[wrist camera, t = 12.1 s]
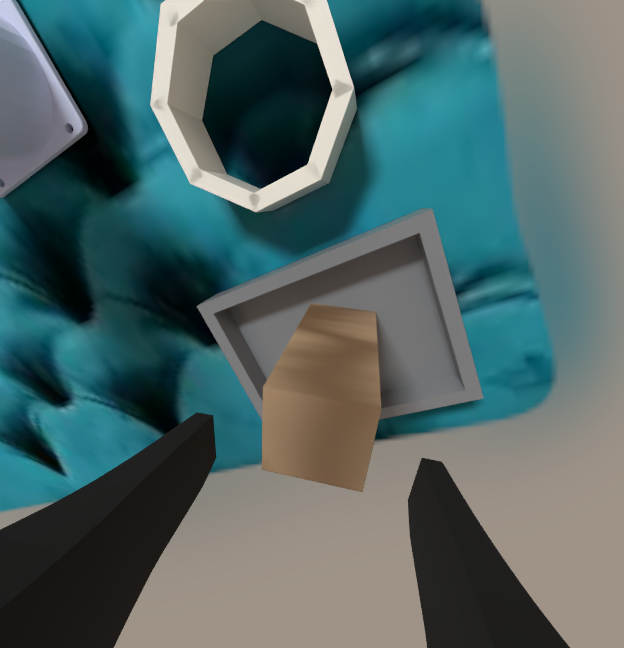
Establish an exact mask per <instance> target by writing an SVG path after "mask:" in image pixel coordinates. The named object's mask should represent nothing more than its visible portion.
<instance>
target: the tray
mask: <svg viewBox="0 0 624 648" xmlns="http://www.w3.org/2000/svg"><path fill="white" fill-rule="evenodd" d="M311 303H315V304H323V305H330V306H337V307H344V308H351V309H358V310H366V311H373V312H376V325H377V343H378V360H379V377H380V394H381V413H380V417H379V420H380V419H385V418H390V417H395V416H399V415H404V414H409V413H414V412H419V411H424V410H429V409H434V408H439V407H444V406H449V405H454V404H459V403H464V402H469V401H474V400H479V399H484V398H483V395H482V391H481V387H480V383H479V380H478V376H477V372H476V369H475V365H474V361H473V358H472V354H471V350H470V346H469V343H468V339H467V335H466V332H465V328H464V324H463V321H462V317H461V313H460V309H459V306H458V302H457V298H456V295H455V291H454V287H453V284H452V280H451V276H450V272H449V269H448V265H447V261H446V258H445V254H444V250H443V246H442V243H441V239H440V235H439V232H438V228H437V224H436V221H435V217H434V213H433V209H427V208H422V209H420V210H417V211H415V212H412V213H410V214H408V215H405V216H403V217H400V218H398V219H396V220H393V221H391V222H388V223H386V224H384V225H381V226H379V227H376V228H374V229H372V230H369V231H367V232H364V233H362V234H360V235H357V236H355V237H352V238H350V239H348V240H345V241H343V242H340V243H338V244H336V245H333V246H331V247H328V248H326V249H324V250H321V251H319V252H316V253H314V254H312V255H309V256H307V257H304V258H302V259H300V260H297V261H295V262H292V263H290V264H288V265H285V266H283V267H280V268H278V269H276V270H273V271H271V272H268V273H266V274H264V275H261V276H259V277H256V278H254V279H252V280H249V281H247V282H244V283H242V284H240V285H237V286H235V287H232V288H230V289H228V290H225V291H223V292H220V293H218V294H216V295H214V296H213V297H211V298H209V299H208V300H206V301H204V302H203V303H201V304H199V305H198V306H197V308H198V309H199V311H200V313H201V315H202V316H203V318H204V320H205V322H206V323H207V325H208V327H209V328H210V330H211V332H212V334H213V335H214V337H215V339H216V341H217V342H218V344H219V346H220V348H221V349H222V351H223V353H224V355H225V356H226V358H227V360H228V362H229V363H230V365H231V367H232V369H233V370H234V372H235V374H236V376H237V377H238V379H239V381H240V383H241V384H242V386H243V388H244V390H245V391H246V393H247V395H248V396H249V398H250V400H251V402H252V403H253V405H254V407H255V409H256V410H257V412H258V414H259V416H260V417H261V419H262V421H263V386H264V385H265V383H266V381H267V379H268V378H269V376H270V374H271V372H272V371H273V369H274V367H275V365H276V364H277V362H278V360H279V358H280V357H281V355H282V353H283V351H284V350H285V348H286V346H287V344H288V343H289V341H290V339H291V337H292V336H293V334H294V332H295V330H296V329H297V327H298V325H299V323H300V322H301V320H302V318H303V316H304V315H305V313H306V311H307V309H308V308H309V306H310V304H311Z"/></svg>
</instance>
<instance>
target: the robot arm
mask: <svg viewBox="0 0 624 648" xmlns="http://www.w3.org/2000/svg"><path fill="white" fill-rule="evenodd" d="M72 127H73V132H72ZM87 131H88V125H87V123H86V120H85V119H84V117H83V115H82V113H81V112H80V110H79V108H78V106H77V105H76V103H75V101H74V100H73V98H72V96H71V94H70V93H69V91H68V89H67V87H66V86H65V84H64V82H63V81H62V79H61V77H60V75H59V74H58V72H57V70H56V68H55V67H54V65H53V63H52V61H51V60H50V58H49V56H48V55H47V53H46V51H45V49H44V48H43V46H42V44H41V42H40V41H39V39H38V37H37V36H36V34H35V32H34V30H33V29H32V27H31V25H30V23H29V22H28V20H27V18H26V16H25V15H24V13H23V11H22V10H21V8H20V6H19V4H18V3H17V1H16V0H0V198H3V197H5V196H6V195H7V194H9V193H10V192H11V191H13V190H14V189H15V188H16V187H18V186H19V185H20V184H22V183H23V182H24V181H26V180H27V179H28V178H29V177H31V176H32V175H33V174H35V173H36V172H37V171H39V170H40V169H41V168H42V167H44V166H45V165H46V164H48V163H49V162H50V161H52V160H53V159H54V158H55V157H57V156H58V155H59V154H61V153H62V152H63V151H65V150H66V149H67V148H68V147H70V146H71V145H72V144H74V143H75V142H76V141H78V140H79V139H80V138H81V137H83V136H84V135H85V134H86V133H87ZM215 459H216V448H215V435H214V422H213V415H208V414H203V413H198V412H197V413H196V414H194V415H193V416H191V417H190V418H188V419H187V420H185V421H184V422H182V423H181V424H180V425H178V426H177V427H175V428H174V429H172V430H171V431H170V432H168V433H167V434H165V435H164V436H162V437H161V438H160V439H158V440H157V441H155V442H154V443H152V444H151V445H149V446H148V447H146V448H145V449H143V450H142V451H140V452H139V453H137V454H136V455H134V456H133V457H131V458H130V459H128V460H127V461H125V462H123V463H122V464H120V465H119V466H117V467H115V468H114V469H112V470H111V471H109V472H108V473H106V474H104V475H103V476H101V477H99V478H98V479H96V480H94V481H93V482H91V483H89V484H88V485H86V486H84V487H82V488H81V489H79V490H77V491H75V492H73V493H72V494H70V495H68V496H66V497H64V498H62V499H61V500H59V501H57V502H55V503H53V504H51V505H49V506H48V507H45V508H43V509H41V510H39V511H37V512H35V513H33V514H31V515H29V516H27V517H25V518H23V519H21V520H19V521H17V522H15V523H13V524H11V525H9V526H7V527H5V528H3V529H1V530H0V648H113V647H114V646H115V644H116V642H117V639H118V637H119V635H120V633H121V631H122V629H123V627H124V625H125V623H126V621H127V619H128V617H129V615H130V613H131V611H132V609H133V607H134V605H135V603H136V601H137V599H138V597H139V595H140V593H141V591H142V589H143V587H144V585H145V583H146V581H147V580H148V577H149V575H150V573H151V572H152V570H153V568H154V567H155V565H156V563H157V561H158V559H159V558H160V556H161V554H162V553H163V551H164V549H165V548H166V546H167V544H168V543H169V541H170V539H171V538H172V536H173V535H174V533H175V531H176V530H177V528H178V526H179V525H180V523H181V521H182V520H183V518H184V517H185V515H186V513H187V512H188V510H189V508H190V507H191V505H192V503H193V502H194V500H195V498H196V497H197V495H198V493H199V492H200V490H201V488H202V487H203V485H204V482H205V481H206V478H207V476H208V474H209V472H210V470H211V468H212V466H213V463H214V461H215ZM408 509H409V527H410V539H411V546H412V552H413V558H414V565H415V571H416V577H417V583H418V589H419V595H420V602H421V608H422V614H423V620H424V627H425V634H426V641H427V648H570V647H569V646H568V645H567V643H566V642H565V641H564V640H563V639H562V637H561V636H560V635H559V633H558V632H557V631H556V630H555V628H554V627H553V626H552V624H551V623H550V622H549V621H548V619H547V618H546V617H545V616H544V614H543V613H542V611H541V610H540V609H539V608H538V606H537V605H536V604H535V602H534V601H533V599H532V598H531V597H530V595H529V594H528V593H527V591H526V590H525V589H524V587H523V586H522V585H521V583H520V582H519V580H518V579H517V577H516V576H515V575H514V573H513V572H512V570H511V569H510V568H509V566H508V565H507V563H506V562H505V561H504V559H503V558H502V556H501V555H500V553H499V552H498V550H497V549H496V547H495V546H494V544H493V543H492V541H491V540H490V538H489V537H488V535H487V534H486V532H485V531H484V530H483V528H482V526H481V525H480V523H479V522H478V520H477V518H476V517H475V515H474V514H473V512H472V511H471V509H470V507H469V506H468V504H467V502H466V501H465V499H464V498H463V496H462V494H461V493H460V491H459V489H458V488H457V486H456V484H455V483H454V481H453V479H452V478H451V476H450V475H449V473H448V471H447V469H446V468H445V466H444V464H443V463H442V462H440V461H435V460H430V459H425V458H422V459H421V462H420V465H419V468H418V471H417V474H416V477H415V480H414V483H413V486H412V489H411V493H410V495H409V499H408Z"/></svg>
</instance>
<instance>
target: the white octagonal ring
mask: <svg viewBox="0 0 624 648" xmlns="http://www.w3.org/2000/svg"><path fill="white" fill-rule="evenodd" d="M261 20H263V21H265V22H268V23H270V24H272V25H275V26H277V27H279V28H282V29H284V30H286V31H289V32H291V33H293V34H296V35H298V36H300V37H303V38H305V39H307V40H310V41H312V42H314V43H317V44H318V47H319V50H320V53H321V56H322V59H323V62H324V65H325V68H326V71H327V74H328V77H329V80H330V83H331V86H332V89H333V90H332V93H331V96H330V99H329V102H328V105H327V108H326V111H325V114H324V117H323V120H322V123H321V126H320V129H319V132H318V135H317V138H316V141H315V144H314V147H313V150H312V153H311V156H310V159H309V162H308V165H306V166H304V167H302V168H300V169H299V170H297V171H295V172H293V173H291V174H289V175H287V176H285V177H283V178H282V179H280V180H278V181H276V182H274V183H272V184H270V185H268V186H266V187H264V188H263V189H259V188H257V187H255V186H252V185H250V184H248V183H246V182H243V181H241V180H239V179H236V178H234V177H232V176H230V175H227V173H226V171H225V169H224V167H223V164H222V162H221V160H220V158H219V156H218V154H217V152H216V149H215V147H214V145H213V143H212V141H211V139H210V137H209V134H208V132H207V130H206V128H205V126H204V124H203V122H202V118H203V112H204V106H205V100H206V95H207V89H208V83H209V77H210V72H211V66H212V60H213V56H214V55H215V54H216V53H218V52H219V51H220V50H222V49H223V48H224V47H226V46H227V45H228V44H230V43H231V42H233V41H234V40H235V39H237V38H238V37H239V36H241V35H242V34H243V33H245V32H246V31H247V30H249V29H250V28H251V27H253V26H254V25H255V24H257V23H258V22H259V21H261ZM150 106H151V107H152V109H153V111H154V113H155V115H156V117H157V119H158V121H159V123H160V125H161V127H162V129H163V131H164V133H165V135H166V137H167V139H168V141H169V143H170V145H171V146H172V148H173V150H174V152H175V154H176V156H177V158H178V160H179V162H180V164H181V166H182V168H183V170H184V172H185V174H186V176H187V178H188V180H189V182H190V184H192V185H195V186H197V187H199V188H202V189H204V190H206V191H208V192H211V193H213V194H215V195H218V196H220V197H222V198H224V199H227V200H229V201H231V202H234V203H236V204H238V205H240V206H243V207H245V208H247V209H250V210H252V211H254V212H264V211H274V210H276V209H278V208H280V207H282V206H284V205H286V204H288V203H290V202H292V201H294V200H296V199H298V198H300V197H302V196H304V195H306V194H308V193H310V192H312V191H314V190H316V189H318V188H320V187H322V186H325V185H327V184H329V183H330V180H331V177H332V174H333V172H334V169H335V166H336V164H337V161H338V158H339V156H340V153H341V150H342V148H343V145H344V142H345V140H346V137H347V134H348V131H349V129H350V126H351V123H352V121H353V118H354V115H355V113H356V110H357V105H356V98H355V90H354V86H353V83H352V80H351V77H350V74H349V70H348V67H347V64H346V61H345V58H344V54H343V51H342V48H341V45H340V42H339V38H338V35H337V32H336V29H335V26H334V22H333V19H332V16H331V13H330V10H329V6H328V3H327V0H165V1H164V2H163V3H162V4H161V8H160V18H159V28H158V37H157V47H156V57H155V66H154V76H153V86H152V95H151V105H150Z"/></svg>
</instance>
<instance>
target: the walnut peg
mask: <svg viewBox="0 0 624 648" xmlns="http://www.w3.org/2000/svg"><path fill="white" fill-rule="evenodd" d="M380 413H381V394H380V377H379V360H378V343H377V325H376V312H373V311H366V310H358V309H351V308H344V307H337V306H330V305H323V304H315V303H311V304H310V306H309V308H308V309H307V311H306V313H305V315H304V316H303V318H302V320H301V322H300V323H299V325H298V327H297V329H296V330H295V332H294V334H293V336H292V337H291V339H290V341H289V343H288V344H287V346H286V348H285V350H284V351H283V353H282V355H281V357H280V358H279V360H278V362H277V364H276V365H275V367H274V369H273V371H272V372H271V374H270V376H269V378H268V379H267V381H266V383H265V385H264V386H263V423H262V470H266V471H270V472H275V473H279V474H284V475H289V476H293V477H297V478H302V479H306V480H311V481H315V482H320V483H324V484H328V485H333V486H337V487H342V488H346V489H351V490H355V491H360V492H363V488H364V483H365V478H366V474H367V470H368V466H369V461H370V457H371V453H372V448H373V444H374V439H375V435H376V431H377V426H378V422H379V417H380Z"/></svg>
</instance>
